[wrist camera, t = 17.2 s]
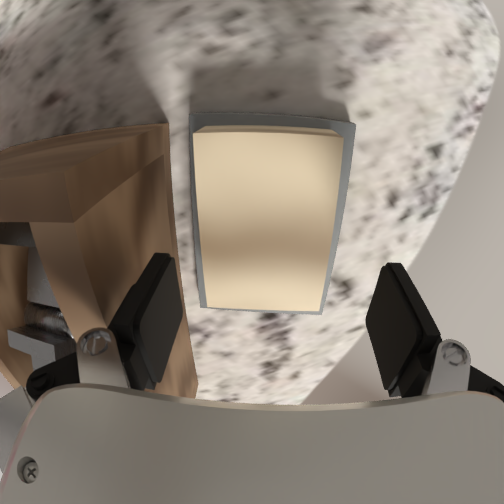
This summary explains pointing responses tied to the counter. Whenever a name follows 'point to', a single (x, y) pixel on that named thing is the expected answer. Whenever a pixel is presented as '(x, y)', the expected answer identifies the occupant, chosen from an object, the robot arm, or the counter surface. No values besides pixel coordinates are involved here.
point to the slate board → (265, 119)
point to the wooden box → (90, 233)
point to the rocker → (37, 306)
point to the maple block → (266, 213)
